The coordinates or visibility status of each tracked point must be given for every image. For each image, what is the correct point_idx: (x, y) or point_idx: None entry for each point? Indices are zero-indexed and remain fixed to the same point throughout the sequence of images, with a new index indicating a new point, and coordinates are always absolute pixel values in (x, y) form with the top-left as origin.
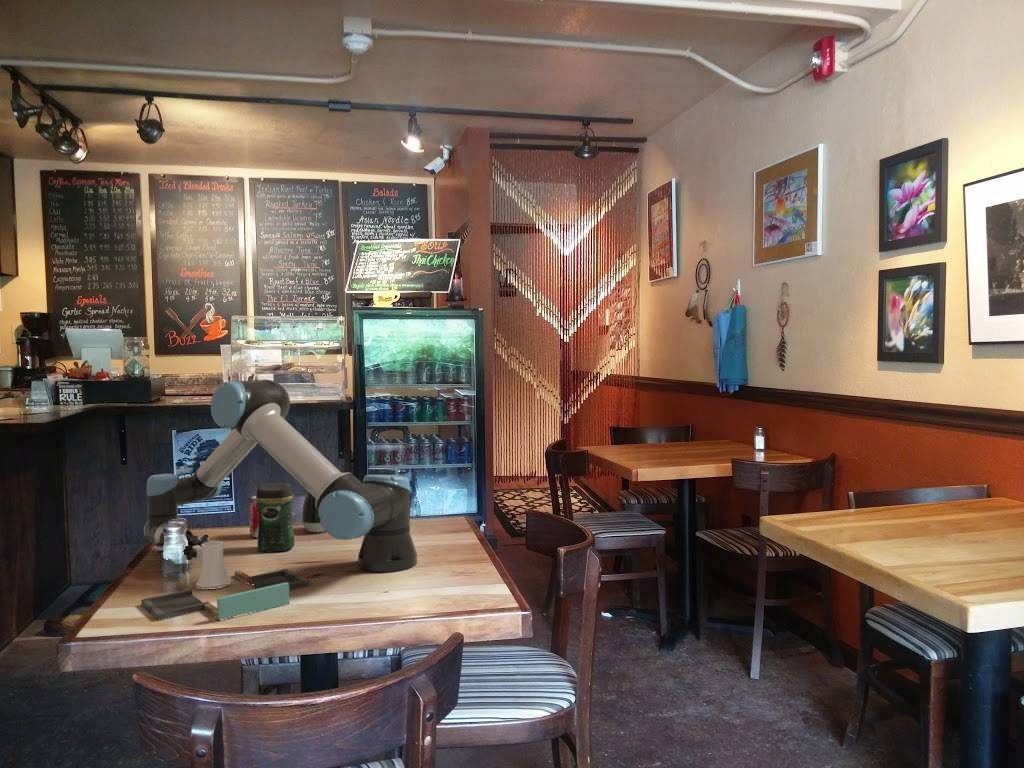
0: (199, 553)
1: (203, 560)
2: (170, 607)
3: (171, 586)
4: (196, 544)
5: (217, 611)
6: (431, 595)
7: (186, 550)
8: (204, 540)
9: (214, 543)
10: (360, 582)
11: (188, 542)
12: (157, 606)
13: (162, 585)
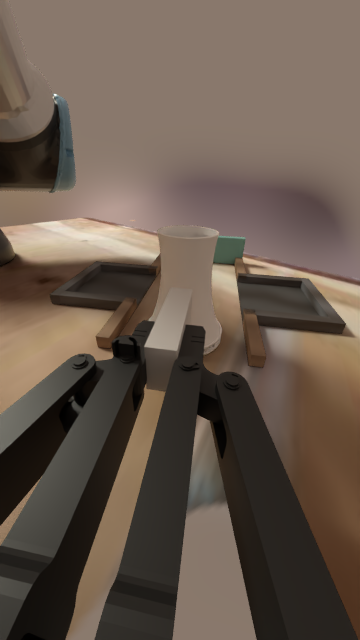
0: (190, 308)
1: (211, 276)
2: (287, 300)
3: (270, 389)
4: (131, 375)
5: (242, 254)
6: (80, 230)
7: (205, 370)
8: (10, 431)
9: (169, 245)
10: (63, 253)
11: (39, 618)
12: (308, 311)
13: (296, 418)
